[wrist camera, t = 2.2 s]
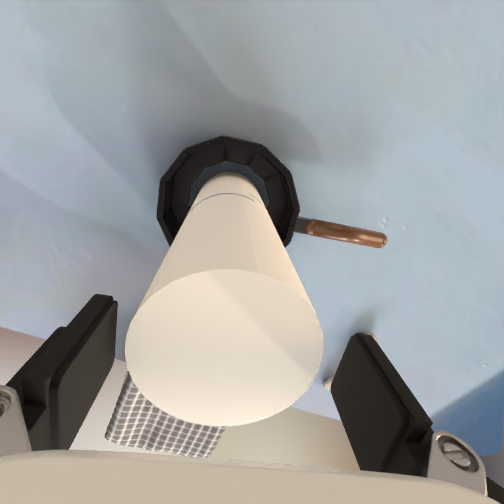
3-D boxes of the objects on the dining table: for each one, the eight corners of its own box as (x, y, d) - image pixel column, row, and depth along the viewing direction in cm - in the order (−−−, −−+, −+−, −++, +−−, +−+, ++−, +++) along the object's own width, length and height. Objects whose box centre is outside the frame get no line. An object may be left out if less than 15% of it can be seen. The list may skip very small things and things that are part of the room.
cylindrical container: (207, 162, 32) (144, 243, 9) (268, 182, 33) (357, 298, 10) (191, 222, 34) (110, 410, 11) (249, 239, 35) (284, 437, 12)
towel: (116, 402, 44) (93, 455, 37) (149, 306, 38) (130, 346, 31) (210, 423, 47) (206, 476, 40) (254, 337, 41) (259, 381, 34)
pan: (174, 123, 30) (165, 121, 26) (393, 174, 34) (416, 180, 29) (160, 248, 35) (151, 263, 31) (352, 280, 39) (366, 298, 35)
